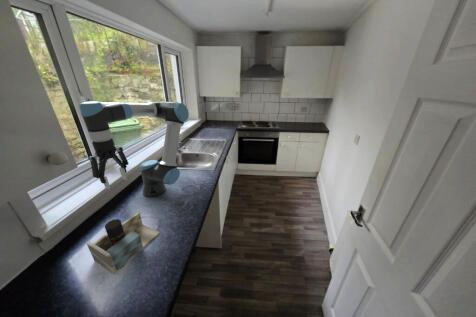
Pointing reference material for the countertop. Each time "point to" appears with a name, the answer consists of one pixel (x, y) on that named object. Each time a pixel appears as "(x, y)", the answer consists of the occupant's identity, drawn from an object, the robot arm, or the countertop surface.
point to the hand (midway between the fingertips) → (116, 183)
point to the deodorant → (114, 231)
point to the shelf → (128, 229)
